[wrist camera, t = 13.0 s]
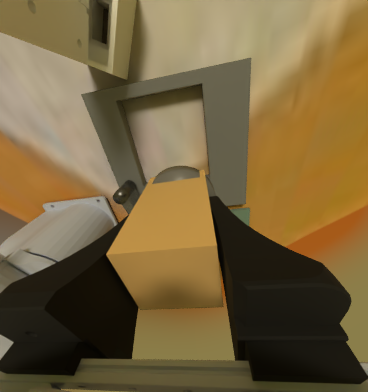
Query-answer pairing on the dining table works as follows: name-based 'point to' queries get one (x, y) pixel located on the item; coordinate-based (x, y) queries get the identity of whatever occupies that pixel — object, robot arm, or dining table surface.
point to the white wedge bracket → (74, 29)
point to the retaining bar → (127, 195)
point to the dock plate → (214, 124)
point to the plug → (170, 244)
